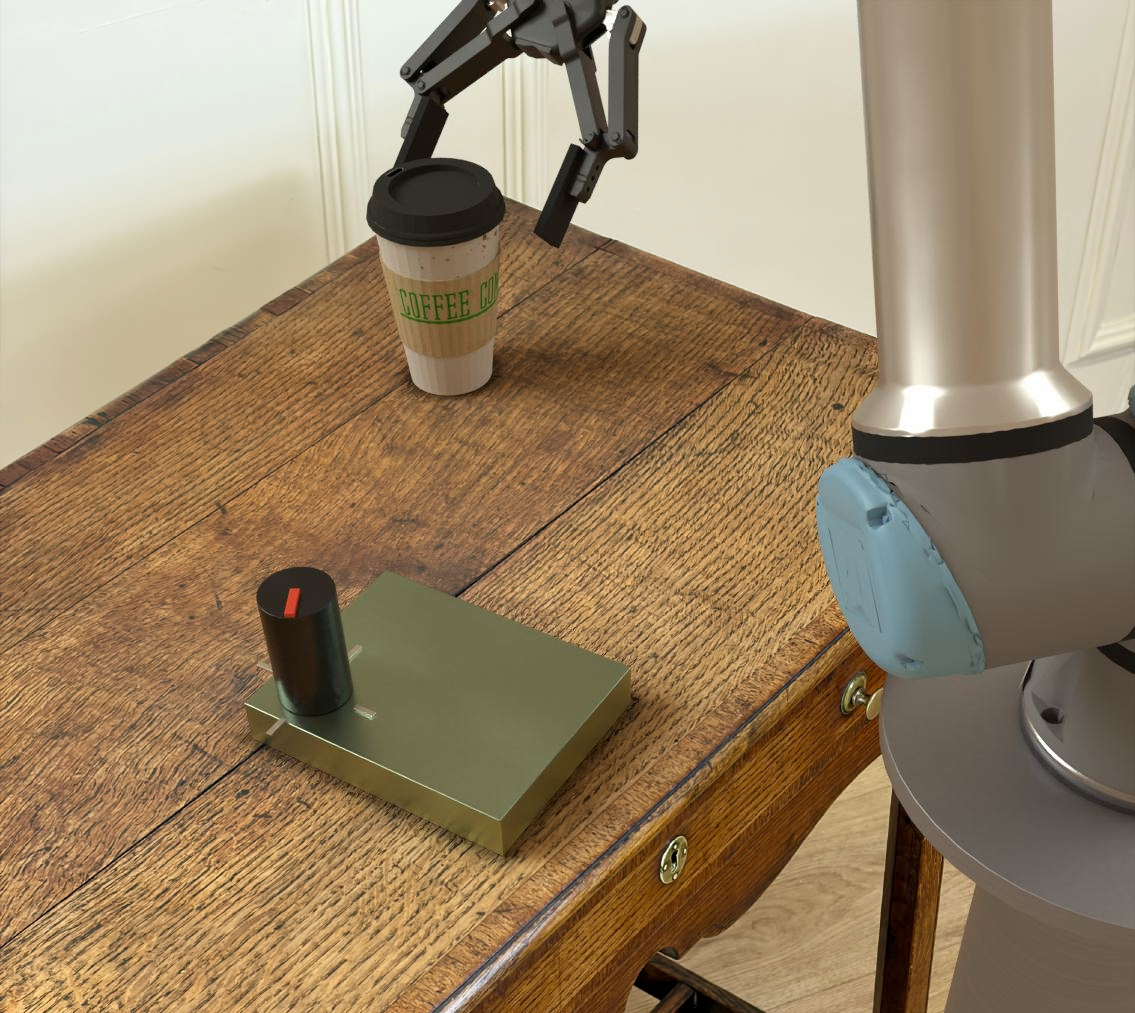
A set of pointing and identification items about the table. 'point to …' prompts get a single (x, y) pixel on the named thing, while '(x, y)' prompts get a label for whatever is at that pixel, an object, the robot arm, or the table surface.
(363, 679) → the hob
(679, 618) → the table surface
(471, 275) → the coffee cup
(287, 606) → the knob
